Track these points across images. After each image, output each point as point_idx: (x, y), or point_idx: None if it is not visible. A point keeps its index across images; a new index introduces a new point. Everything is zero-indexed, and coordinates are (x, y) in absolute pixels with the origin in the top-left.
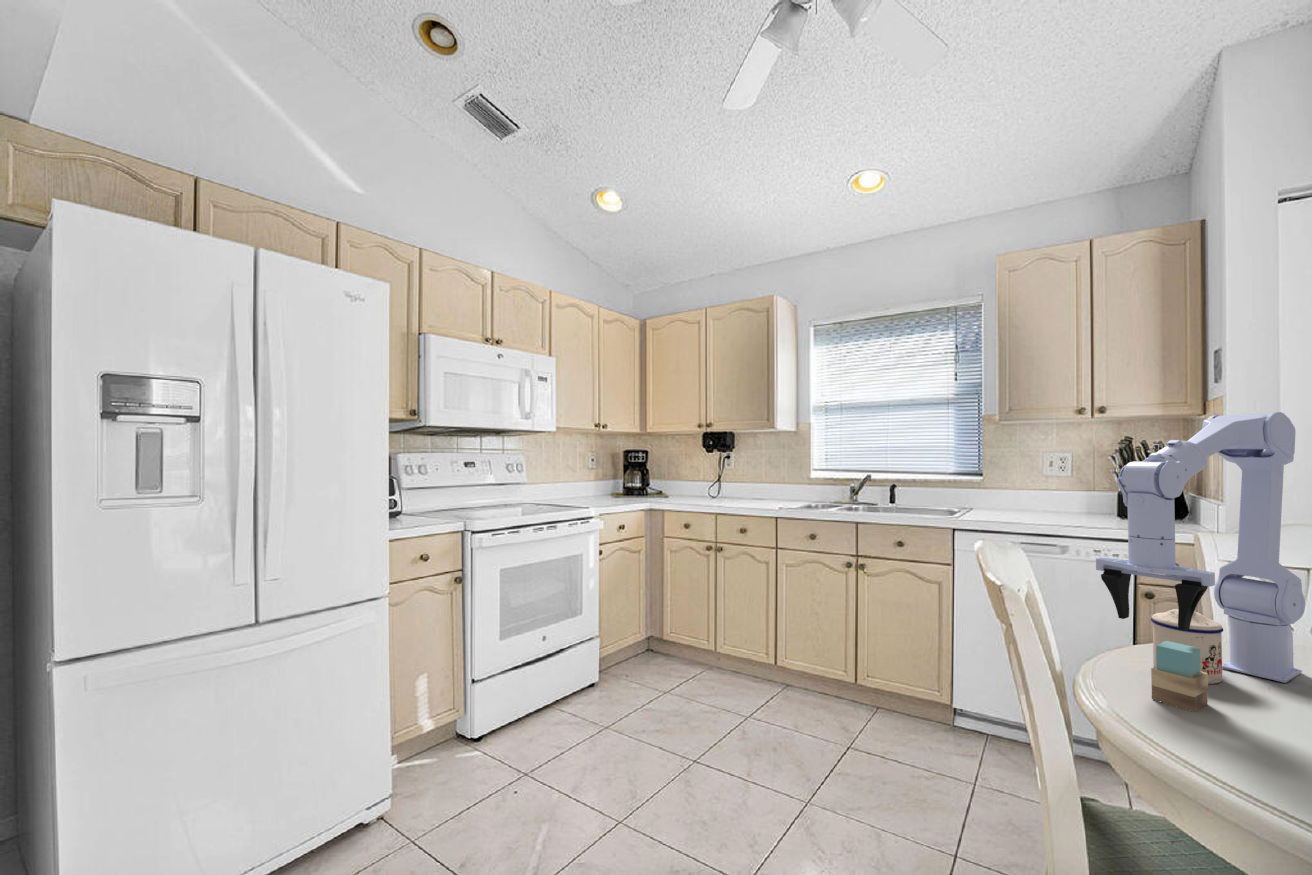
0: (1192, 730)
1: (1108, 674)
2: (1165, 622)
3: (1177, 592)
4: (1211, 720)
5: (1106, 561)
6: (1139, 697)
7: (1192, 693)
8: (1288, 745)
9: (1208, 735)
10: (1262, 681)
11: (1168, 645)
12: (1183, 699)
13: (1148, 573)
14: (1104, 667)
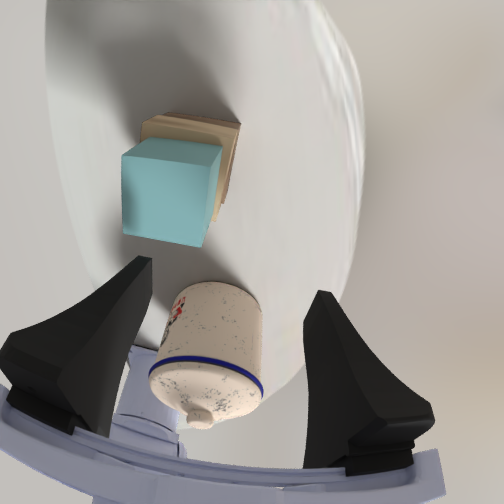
0: (159, 5)
1: (327, 228)
2: (230, 373)
3: (73, 350)
4: (141, 88)
5: (413, 499)
6: (262, 118)
7: (157, 116)
8: (56, 77)
9: (137, 6)
10: (145, 339)
11: (183, 195)
12: (180, 117)
13: (223, 480)
14: (334, 266)
